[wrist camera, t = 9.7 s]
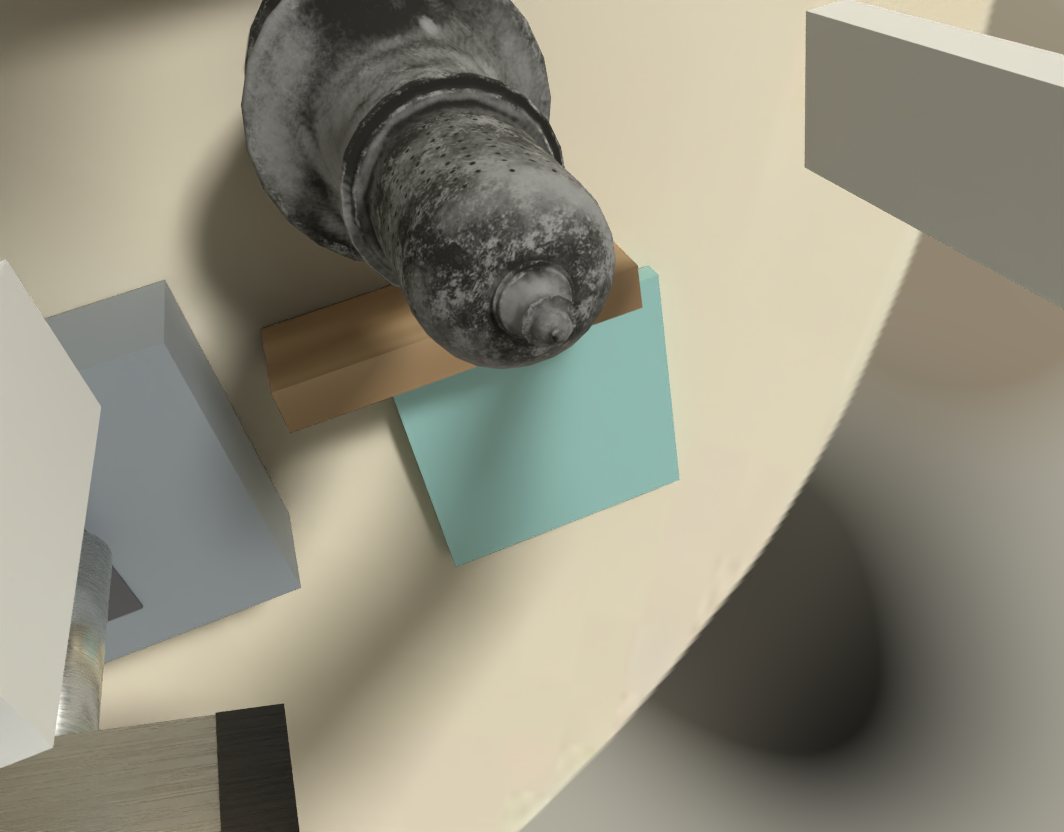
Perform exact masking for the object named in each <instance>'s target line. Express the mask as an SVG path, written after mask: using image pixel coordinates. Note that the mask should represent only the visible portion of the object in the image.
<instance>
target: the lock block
mask: <svg viewBox="0 0 1064 832" xmlns="http://www.w3.org/2000/svg"><path fill="white" fill-rule="evenodd" d="M45 320H46V322H47V323H48V325H49V326H50V328H51V330H52V331H53V333H54V334H55V336H56V337H57V339H58V340H59V342H60V343H61V345H62V347H63V348H64V350H65V351H66V353H67V354H68V356H69V357H70V359H71V361H72V362H73V364H74V365H75V367H76V368H77V370H78V371H79V373H80V374H81V376H82V378H83V379H84V381H85V382H86V384H87V385H88V387H89V388H90V390H91V392H92V393H93V395H94V396H95V398H96V399H97V401H98V402H99V404H100V405H101V412H100V419H99V426H98V433H97V441H96V448H95V455H94V462H93V469H92V476H91V483H90V490H89V497H88V504H87V511H86V518H85V525H84V532H88V533H91V534H93V535H95V536H97V537H99V538H100V539H102V540H103V541H104V542H105V543H106V544H107V545H108V547H109V548H110V550H111V553H112V571H111V583H110V595H109V608H108V620H107V632H106V644H105V656H104V663H106V662H109V661H111V660H114V659H117V658H119V657H122V656H125V655H127V654H130V653H132V652H135V651H138V650H140V649H143V648H145V647H148V646H151V645H153V644H156V643H158V642H161V641H164V640H166V639H169V638H171V637H174V636H177V635H179V634H182V633H184V632H187V631H190V630H192V629H195V628H197V627H200V626H203V625H205V624H208V623H210V622H213V621H216V620H218V619H221V618H223V617H226V616H229V615H231V614H234V613H236V612H239V611H242V610H244V609H247V608H249V607H252V606H255V605H257V604H260V603H262V602H265V601H268V600H270V599H273V598H275V597H278V596H281V595H283V594H286V593H288V592H291V591H294V590H296V589H299V588H301V585H300V579H299V572H298V566H297V560H296V554H295V548H294V541H293V535H292V529H291V523H290V517H289V513H288V512H287V510H286V508H285V506H284V504H283V502H282V500H281V498H280V496H279V495H278V493H277V491H276V489H275V487H274V485H273V483H272V481H271V479H270V478H269V476H268V474H267V472H266V470H265V468H264V466H263V464H262V462H261V461H260V459H259V457H258V455H257V453H256V451H255V449H254V447H253V445H252V443H251V442H250V440H249V438H248V436H247V434H246V432H245V430H244V428H243V426H242V425H241V423H240V421H239V419H238V417H237V415H236V413H235V411H234V409H233V408H232V406H231V404H230V402H229V400H228V398H227V396H226V394H225V392H224V391H223V389H222V387H221V385H220V383H219V381H218V379H217V377H216V375H215V373H214V372H213V370H212V368H211V366H210V364H209V362H208V360H207V358H206V356H205V355H204V353H203V351H202V349H201V347H200V345H199V343H198V341H197V339H196V338H195V336H194V334H193V332H192V330H191V328H190V326H189V324H188V322H187V321H186V319H185V317H184V315H183V313H182V311H181V309H180V307H179V305H178V303H177V302H176V300H175V298H174V296H173V294H172V292H171V290H170V288H169V286H168V285H167V283H166V281H165V280H163V281H160V282H157V283H154V284H151V285H148V286H144V287H141V288H138V289H135V290H132V291H129V292H126V293H123V294H120V295H117V296H113V297H110V298H107V299H104V300H101V301H98V302H95V303H92V304H89V305H86V306H82V307H79V308H76V309H73V310H70V311H67V312H64V313H61V314H58V315H55V316H51V317H48V318H45Z"/></svg>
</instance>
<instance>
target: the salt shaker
mask: <svg viewBox="0 0 1064 832" xmlns="http://www.w3.org/2000/svg"><path fill="white" fill-rule="evenodd" d="M246 65H247V66H246V74H245V81H244V88H243V95H242V102H241V108H242V115H243V123H244V130H245V138H246V145H247V151H248V153H249V155H250V158H251V160H252V163H253V165H254V167H255V170H256V172H257V175H258V177H259V179H260V182H261V184H262V186H263V189H264V190H265V191H266V193H267V194H268V195H269V197H270V198H271V199H272V201H273V202H274V203H275V205H276V206H277V207H278V208H279V210H280V211H281V212H282V214H283V215H284V216H285V218H286V219H287V220H288V221H289V222H290V223H291V224H293V225H294V226H295V227H296V228H298V229H299V230H300V231H302V232H303V233H304V234H305V235H307V236H308V237H309V238H311V239H312V240H313V241H314V242H316V243H317V244H318V245H320V246H322V247H325V248H327V249H329V250H331V251H334V252H336V253H338V254H341V255H343V256H345V257H348V258H350V259H352V260H356V261H362V262H366V263H367V265H368V266H369V267H370V268H371V269H373V270H374V271H375V272H376V273H378V274H379V275H380V276H382V277H383V278H384V279H385V280H387V281H388V282H389V283H390V284H392V285H395V286H397V287H399V288H401V290H402V293H403V295H404V297H405V299H406V301H407V303H408V305H409V308H410V310H411V312H412V314H413V316H414V317H415V319H416V320H417V321H418V323H419V324H420V325H421V327H422V328H423V330H424V331H425V332H426V334H427V335H428V336H429V337H430V338H431V339H433V340H434V341H435V342H436V343H437V344H439V345H440V346H441V347H443V348H444V349H445V350H446V351H448V352H449V353H450V354H452V355H453V356H454V357H456V358H458V359H461V360H463V361H466V362H468V363H471V364H473V365H476V366H479V367H487V368H496V369H509V368H518V367H526V366H530V365H533V364H536V363H539V362H542V361H545V360H548V359H550V358H553V357H555V356H557V355H558V354H560V353H561V352H563V351H565V350H566V349H568V348H570V347H571V346H573V345H574V344H575V343H576V342H577V341H578V340H579V339H580V338H581V337H582V336H583V335H584V334H585V333H586V332H587V331H588V330H589V329H590V327H591V326H592V324H593V323H594V321H595V320H596V318H597V317H598V315H599V314H600V312H601V311H602V309H603V308H604V306H605V303H606V301H607V298H608V295H609V293H610V290H611V287H612V285H613V280H614V271H615V262H616V257H615V250H614V244H613V237H612V233H611V231H610V229H609V226H608V224H607V222H606V220H605V217H604V215H603V213H602V211H601V209H600V207H599V205H598V203H597V201H596V200H595V199H594V198H593V197H592V195H591V194H590V193H589V192H588V191H587V190H586V189H585V188H584V187H583V186H582V184H581V183H580V182H579V181H578V180H577V179H575V178H574V177H573V176H572V175H571V174H570V173H569V172H568V171H567V170H566V169H565V167H564V162H563V157H562V151H561V146H560V144H559V142H558V140H557V138H556V136H555V134H554V132H553V130H552V128H551V126H550V124H549V117H550V103H551V96H550V90H549V84H548V78H547V73H546V67H545V61H544V57H543V55H542V53H541V50H540V48H539V46H538V44H537V41H536V39H535V37H534V35H533V33H532V30H531V28H530V26H529V24H528V22H527V20H526V19H525V17H524V16H523V15H522V14H521V12H520V11H519V10H518V9H517V8H516V6H515V5H514V4H513V3H512V1H511V0H263V1H262V3H261V5H260V8H259V10H258V12H257V14H256V17H255V19H254V21H253V24H252V26H251V30H250V37H249V45H248V52H247V59H246Z"/></svg>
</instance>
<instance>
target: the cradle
mask: <svg viewBox="0 0 1064 832" xmlns="http://www.w3.org/2000/svg"><path fill="white" fill-rule="evenodd" d="M613 244H614V250H615V257H616V262H615V271H614V280H613V285H612V287H611V290H610V293H609V295H608V298H607V301H606V303H605V306H604V308H603V309H602V311H601V312H600V314H599V315H598V317H597V318H596V320H595V321H594V323H593V324H592V325H595V324H598V323H601V322H604V321H606V320H609V319H612V318H615V317H618V316H620V315H623V314H626V313H629V312H632V311H635V310H637V309H640V308H643V306H642V298H641V289H640V281H639V273H638V265H637V264H636V263H635V262H634V261H633V260H632V259H631V258H630V257H629V256H628V255H627V254H626V253H625V252H624V251H623V250H622V249H621V248H620V247H619V246H618V245H617V244H616V243H615V242H614V241H613ZM261 335H262V341H263V347H264V354H265V360H266V366H267V372H268V378H269V384H270V390H271V394H272V396H273V398H274V400H275V402H276V405H277V407H278V409H279V411H280V413H281V415H282V417H283V419H284V421H285V423H286V425H287V427H288V429H289V431H290V433H292V432H295V431H298V430H301V429H304V428H306V427H309V426H312V425H315V424H318V423H320V422H323V421H326V420H329V419H332V418H334V417H337V416H340V415H343V414H346V413H348V412H351V411H354V410H357V409H360V408H362V407H365V406H368V405H371V404H374V403H377V402H379V401H382V400H385V399H388V398H391V397H393V396H396V395H399V394H402V393H405V392H407V391H410V390H413V389H416V388H419V387H421V386H424V385H427V384H430V383H433V382H435V381H438V380H441V379H444V378H447V377H449V376H452V375H455V374H458V373H461V372H463V371H466V370H469V369H472V368H475V367H477V366H476V365H473V364H471V363H468V362H466V361H463V360H461V359H458V358H456V357H454V356H453V355H452V354H450V353H449V352H448V351H446V350H445V349H444V348H443V347H441V346H440V345H439V344H437V343H436V342H435V341H434V340H433V339H431V338H430V337H429V336H428V335H427V334H426V332H425V331H424V330H423V328H422V327H421V325H420V324H419V323H418V321H417V320H416V319H415V317H414V316H413V314H412V312H411V310H410V308H409V305H408V303H407V301H406V299H405V297H404V295H403V293H402V290H401V288H399V287H397V286H395V285H391V286H388V287H385V288H382V289H379V290H376V291H373V292H370V293H367V294H364V295H361V296H358V297H355V298H352V299H349V300H346V301H343V302H340V303H337V304H334V305H331V306H328V307H325V308H322V309H319V310H316V311H313V312H310V313H307V314H304V315H301V316H298V317H295V318H293V319H290V320H287V321H284V322H281V323H278V324H275V325H272V326H269V327H266V328H263V329H261Z"/></svg>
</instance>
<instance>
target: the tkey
mask: <svg viewBox="0 0 1064 832" xmlns="http://www.w3.org/2000/svg"><path fill="white" fill-rule="evenodd" d="M111 571H112V553H111V550H110V548H109V547H108V545H107V544H106V543H105V542H104V541H103V540H102V539H100V538H99V537H97V536H95V535H93V534H91V533H88V532H83V540H82V547H81V554H80V561H79V568H78V575H77V582H76V589H75V596H74V603H73V610H72V617H71V624H70V631H69V638H68V646H67V653H66V660H65V667H64V674H63V681H62V688H61V695H60V702H59V709H58V716H57V723H56V730H55V737H54V744H53V748H51V749H48V750H46V751H43V752H41V753H38V754H36V755H33V756H31V757H28V758H26V759H23V760H20V761H18V762H15V763H13V764H10V765H8V766H5V767H3V768H0V832H299V824H298V816H297V808H296V799H295V791H294V783H293V775H292V766H291V758H290V750H289V742H288V734H287V725H286V717H285V709H284V704H277V705H270V706H262V707H255V708H248V709H240V710H233V711H225V712H218V713H216V715H209V716H201V717H194V718H187V719H179V720H172V721H165V722H157V723H150V724H142V725H135V726H128V727H120V728H113V729H105V730H99V718H100V705H101V693H102V681H103V669H104V656H105V644H106V632H107V620H108V608H109V595H110V583H111Z"/></svg>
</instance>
